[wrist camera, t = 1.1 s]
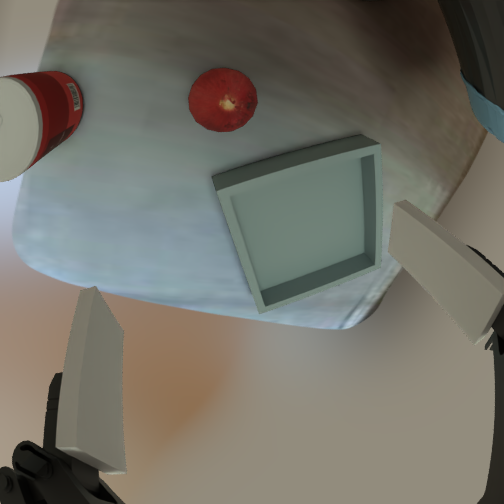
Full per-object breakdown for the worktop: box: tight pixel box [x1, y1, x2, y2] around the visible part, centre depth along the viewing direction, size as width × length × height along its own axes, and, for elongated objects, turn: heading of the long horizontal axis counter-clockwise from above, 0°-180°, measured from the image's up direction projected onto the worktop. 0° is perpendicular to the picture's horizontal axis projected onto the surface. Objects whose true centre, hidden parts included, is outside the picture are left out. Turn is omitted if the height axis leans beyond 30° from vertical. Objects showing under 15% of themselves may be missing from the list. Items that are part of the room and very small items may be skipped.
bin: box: [212, 135, 383, 314], centre depth 35 cm, size 18×18×4 cm
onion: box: [188, 68, 258, 132], centre depth 22 cm, size 6×6×8 cm
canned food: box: [0, 71, 83, 182], centre depth 17 cm, size 8×8×11 cm
